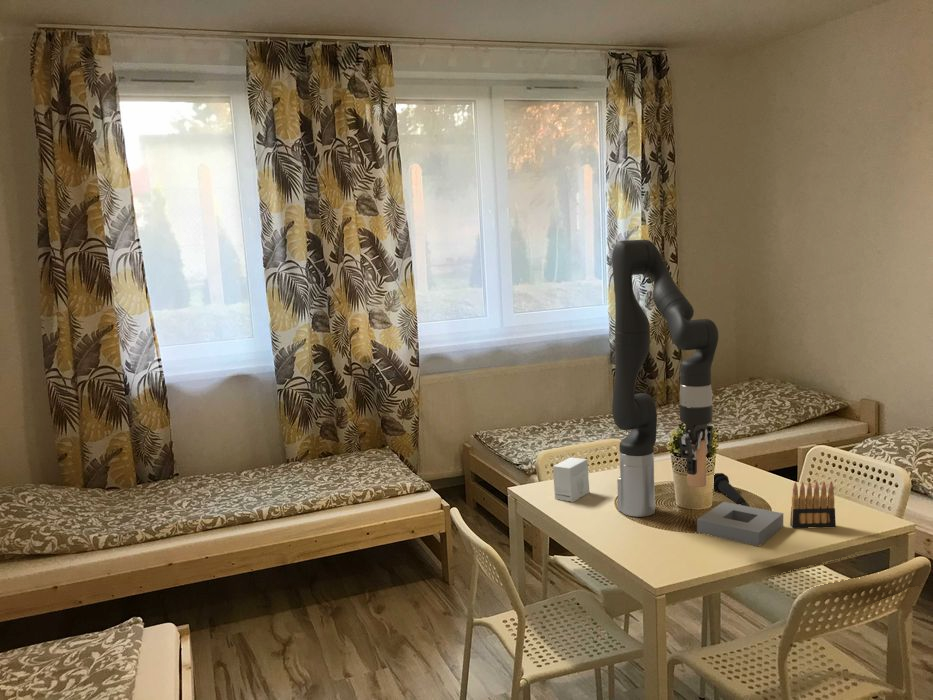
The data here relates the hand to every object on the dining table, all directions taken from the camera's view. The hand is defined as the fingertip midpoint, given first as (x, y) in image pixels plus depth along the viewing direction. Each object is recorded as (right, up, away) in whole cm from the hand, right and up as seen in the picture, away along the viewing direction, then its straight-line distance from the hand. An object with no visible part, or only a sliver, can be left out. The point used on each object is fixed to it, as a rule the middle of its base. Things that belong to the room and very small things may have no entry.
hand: (696, 471), depth 186 cm
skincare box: (-24, -15, +44) cm, 53 cm away
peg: (0, -3, +1) cm, 3 cm away
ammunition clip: (+33, -16, +11) cm, 39 cm away
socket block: (+15, -17, +12) cm, 25 cm away
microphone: (+20, -14, +36) cm, 43 cm away
